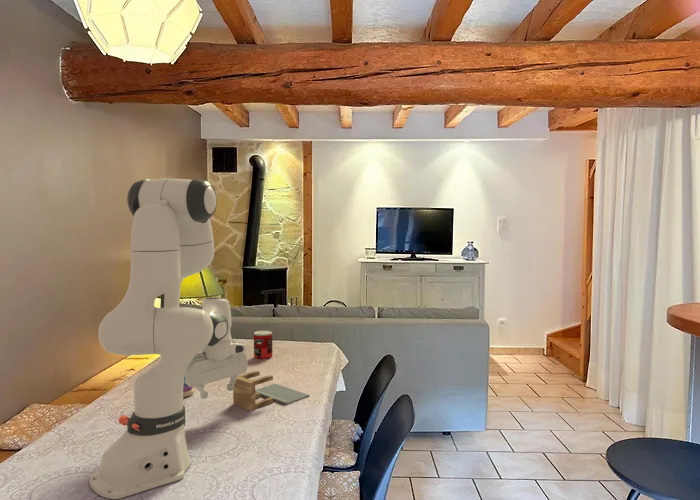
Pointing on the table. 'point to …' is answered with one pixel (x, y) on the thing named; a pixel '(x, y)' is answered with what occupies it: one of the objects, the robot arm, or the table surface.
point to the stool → (249, 391)
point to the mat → (281, 394)
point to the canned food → (263, 344)
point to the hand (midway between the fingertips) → (217, 393)
